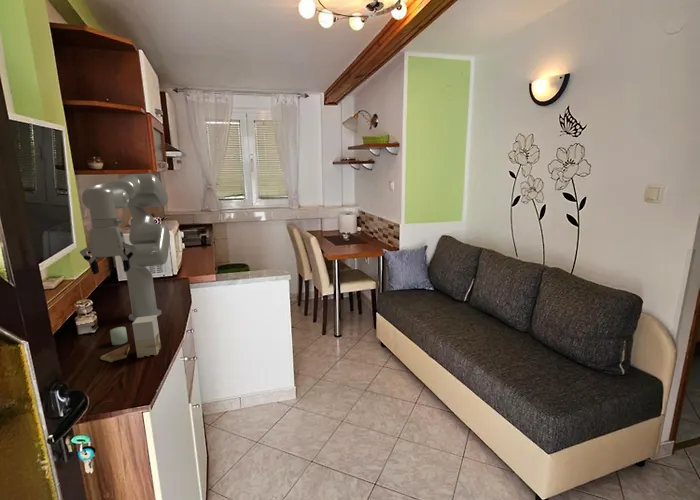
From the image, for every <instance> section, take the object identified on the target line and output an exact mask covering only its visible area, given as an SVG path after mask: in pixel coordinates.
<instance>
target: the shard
mask: <svg viewBox="0 0 700 500" xmlns="http://www.w3.org/2000/svg"><path fill="white" fill-rule="evenodd" d="M130 345H131V343H128V344H125V345H123V346H121V347H119V348H116V349H114V350H111V351H109V352H107V353H105V354H103V355H101V356H100V360H102V361H106V362H109V363H113V362H115V361H119V360H123V359H127V358H128V354H129V351H130Z"/></svg>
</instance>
